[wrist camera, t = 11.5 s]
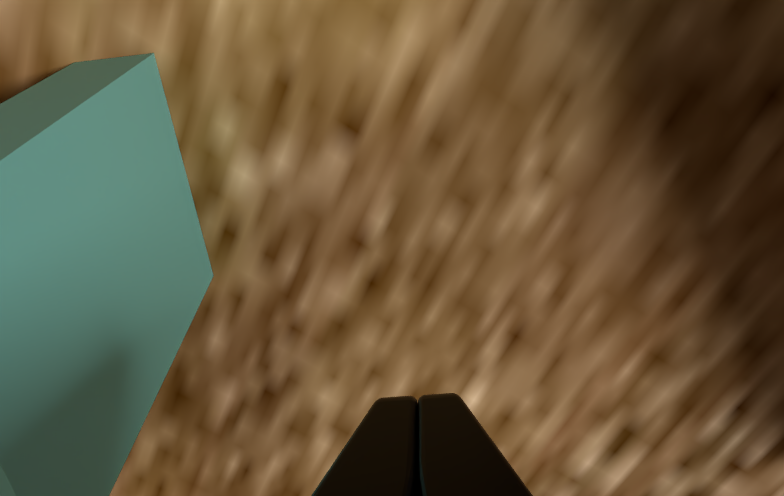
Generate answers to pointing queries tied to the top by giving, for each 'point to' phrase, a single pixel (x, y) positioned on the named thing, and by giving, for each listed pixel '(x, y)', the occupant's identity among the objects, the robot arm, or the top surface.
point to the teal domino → (90, 272)
